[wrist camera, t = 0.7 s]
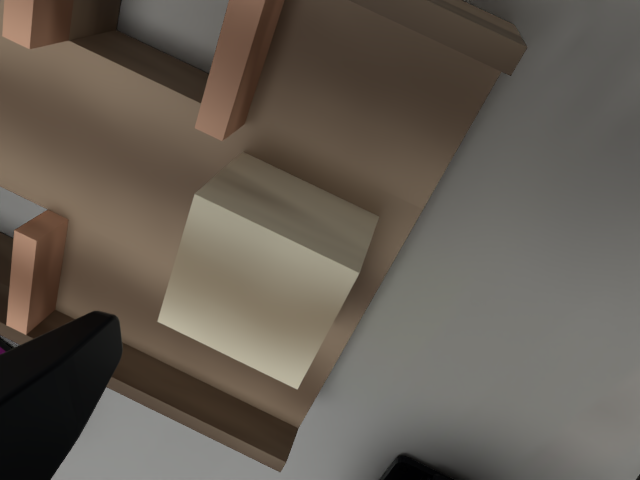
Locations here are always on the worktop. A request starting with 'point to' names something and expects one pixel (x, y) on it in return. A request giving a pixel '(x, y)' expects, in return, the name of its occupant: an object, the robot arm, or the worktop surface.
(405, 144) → the brown wooden tray
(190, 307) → the birch block
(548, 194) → the worktop surface
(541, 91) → the worktop surface
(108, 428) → the worktop surface
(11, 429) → the robot arm
